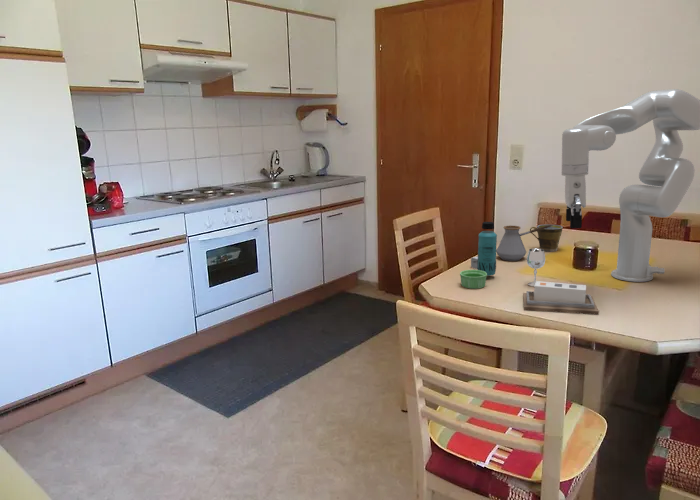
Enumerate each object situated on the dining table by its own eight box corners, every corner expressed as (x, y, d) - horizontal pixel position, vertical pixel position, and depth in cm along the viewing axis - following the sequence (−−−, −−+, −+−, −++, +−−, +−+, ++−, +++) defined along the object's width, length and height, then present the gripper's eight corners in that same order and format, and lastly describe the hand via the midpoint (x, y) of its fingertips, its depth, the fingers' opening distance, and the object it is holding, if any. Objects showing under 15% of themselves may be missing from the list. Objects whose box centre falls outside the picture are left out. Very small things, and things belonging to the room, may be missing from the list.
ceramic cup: (563, 248, 220) (564, 225, 218) (558, 253, 212) (559, 229, 210) (531, 245, 227) (533, 223, 225) (526, 250, 219) (527, 227, 216)
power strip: (584, 301, 155) (586, 284, 153) (584, 306, 150) (585, 290, 149) (535, 296, 160) (536, 280, 159) (533, 301, 156) (534, 285, 155)
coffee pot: (492, 260, 207) (493, 223, 203) (501, 253, 216) (502, 218, 212) (547, 266, 195) (549, 227, 191) (555, 259, 204) (557, 221, 201)
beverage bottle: (474, 275, 188) (475, 220, 183) (492, 274, 188) (493, 219, 184) (480, 280, 182) (481, 224, 177) (498, 279, 182) (500, 223, 177)
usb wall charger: (470, 267, 198) (471, 257, 197) (484, 264, 202) (484, 254, 201) (478, 269, 195) (478, 259, 194) (491, 266, 198) (492, 256, 197)
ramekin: (454, 284, 179) (454, 271, 178) (475, 280, 183) (476, 268, 182) (470, 291, 171) (470, 278, 170) (492, 286, 175) (492, 274, 174)
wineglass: (535, 288, 171) (536, 253, 168) (522, 283, 176) (523, 249, 173) (547, 285, 174) (549, 250, 171) (534, 280, 179) (536, 247, 176)
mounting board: (591, 299, 159) (592, 292, 158) (598, 314, 147) (599, 307, 146) (523, 295, 164) (523, 289, 164) (524, 310, 152) (524, 302, 152)
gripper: (593, 172, 149) (591, 230, 154) (583, 165, 165) (582, 218, 170) (565, 174, 151) (564, 231, 156) (558, 166, 167) (557, 218, 172)
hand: (573, 224), depth 163 cm, fingers open, 9 cm apart
